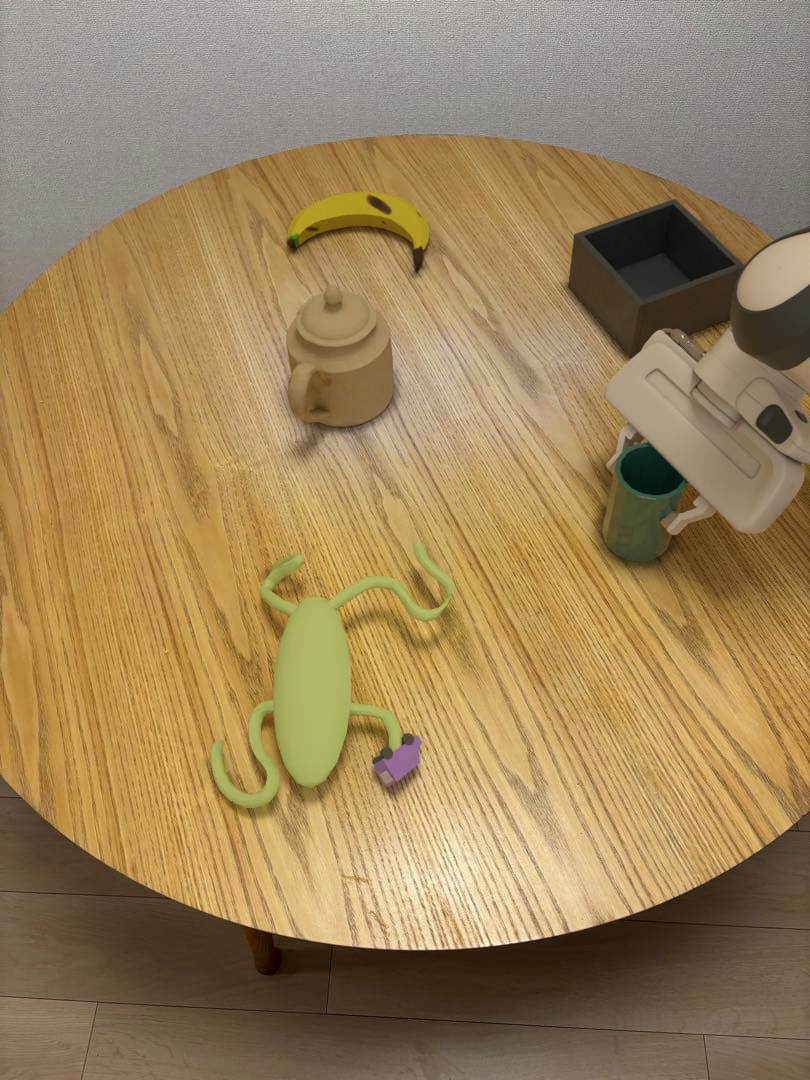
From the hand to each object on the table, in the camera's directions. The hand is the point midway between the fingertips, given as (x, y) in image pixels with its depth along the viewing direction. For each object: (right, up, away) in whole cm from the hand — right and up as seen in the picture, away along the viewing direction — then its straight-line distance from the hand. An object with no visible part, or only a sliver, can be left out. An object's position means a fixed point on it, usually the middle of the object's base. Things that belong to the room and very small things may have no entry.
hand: (639, 500), depth 93 cm
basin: (+7, +24, +24) cm, 35 cm away
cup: (+1, -3, +5) cm, 6 cm away
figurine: (-28, -16, -2) cm, 33 cm away
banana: (-28, +33, +32) cm, 54 cm away
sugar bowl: (-28, +11, +17) cm, 35 cm away
